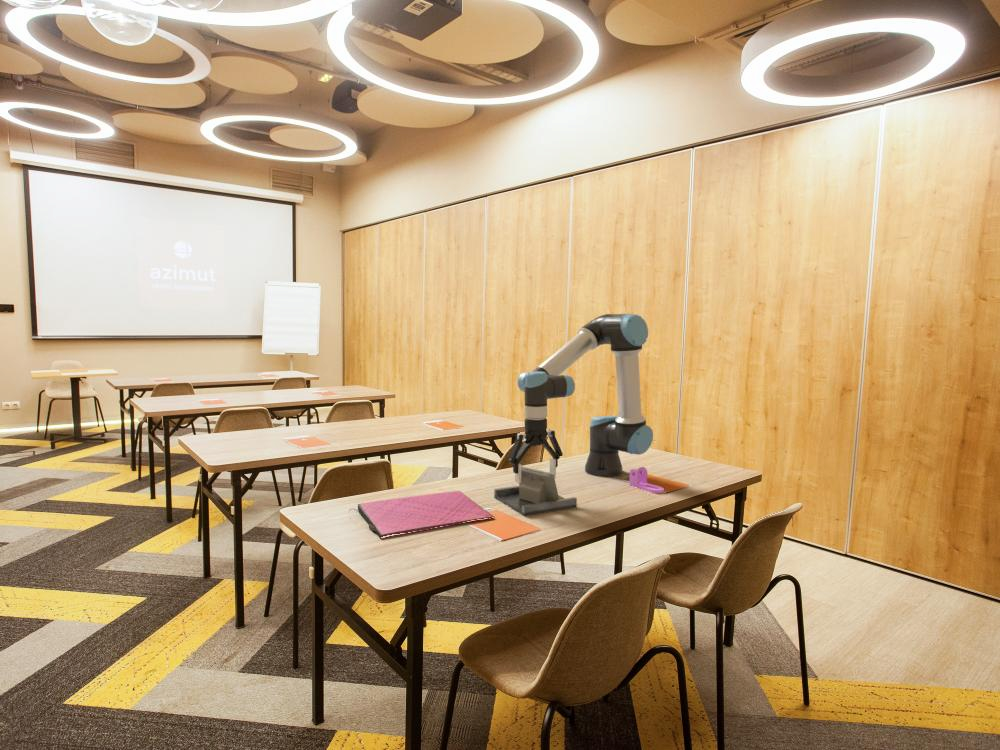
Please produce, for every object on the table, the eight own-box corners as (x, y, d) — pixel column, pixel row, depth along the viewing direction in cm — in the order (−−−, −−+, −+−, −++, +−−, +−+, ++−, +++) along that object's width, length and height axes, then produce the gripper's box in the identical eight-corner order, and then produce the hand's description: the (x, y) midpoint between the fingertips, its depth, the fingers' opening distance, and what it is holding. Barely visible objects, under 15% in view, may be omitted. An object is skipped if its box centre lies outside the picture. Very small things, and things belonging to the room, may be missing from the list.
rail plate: (543, 490, 206) (543, 482, 205) (576, 507, 187) (576, 498, 187) (494, 497, 196) (494, 489, 196) (524, 516, 178) (524, 506, 178)
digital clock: (561, 503, 188) (562, 471, 187) (541, 508, 183) (541, 476, 182) (530, 491, 201) (531, 461, 200) (510, 495, 196) (511, 465, 195)
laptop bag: (459, 485, 198) (495, 510, 175) (459, 497, 199) (494, 522, 175) (344, 500, 180) (366, 530, 156) (344, 512, 180) (366, 544, 156)
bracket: (629, 486, 212) (629, 468, 212) (639, 483, 216) (639, 466, 215) (657, 495, 202) (657, 476, 201) (667, 492, 205) (667, 473, 204)
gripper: (560, 413, 198) (560, 472, 200) (497, 419, 187) (497, 481, 189) (573, 416, 191) (572, 477, 194) (508, 423, 180) (508, 487, 182)
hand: (535, 479), depth 191 cm, fingers open, 13 cm apart
